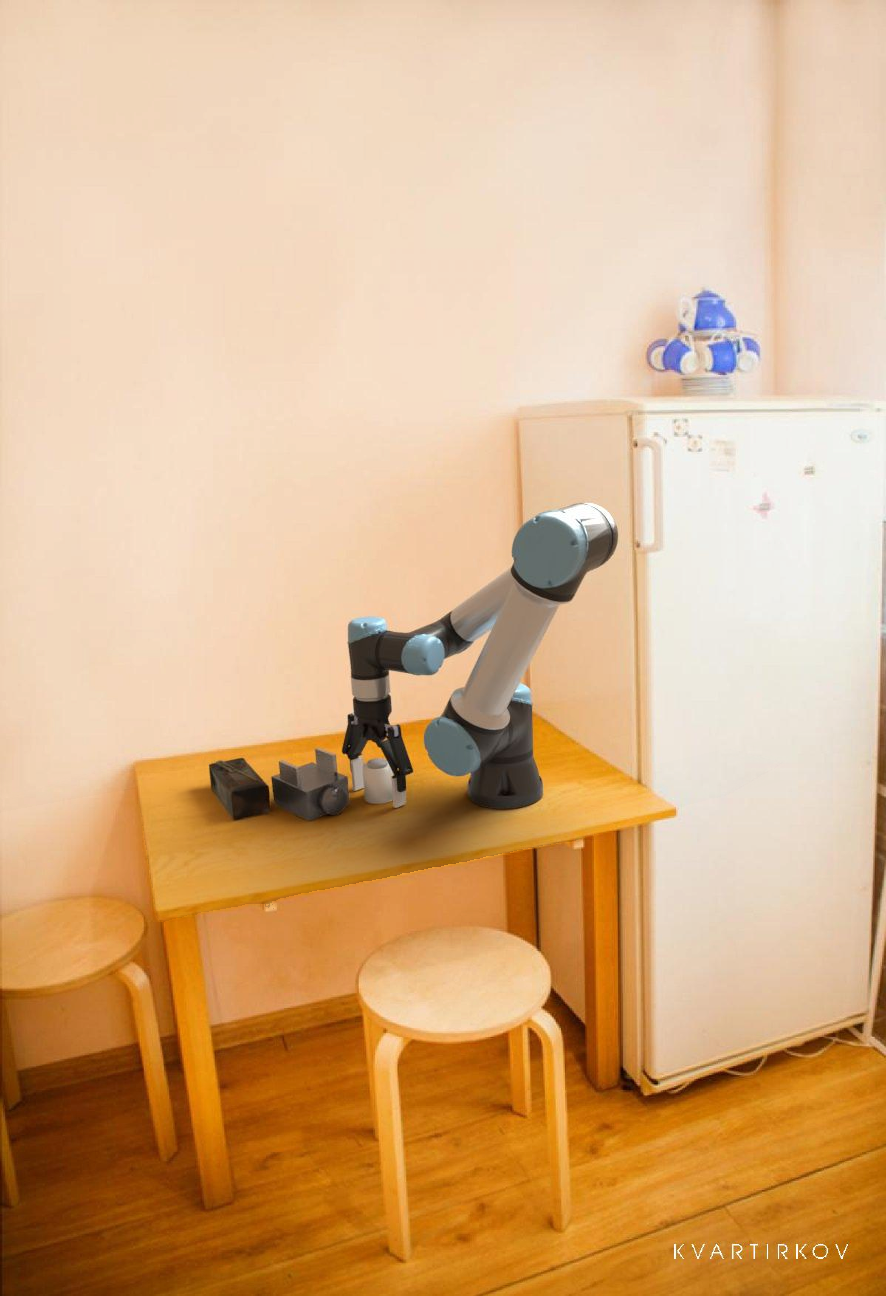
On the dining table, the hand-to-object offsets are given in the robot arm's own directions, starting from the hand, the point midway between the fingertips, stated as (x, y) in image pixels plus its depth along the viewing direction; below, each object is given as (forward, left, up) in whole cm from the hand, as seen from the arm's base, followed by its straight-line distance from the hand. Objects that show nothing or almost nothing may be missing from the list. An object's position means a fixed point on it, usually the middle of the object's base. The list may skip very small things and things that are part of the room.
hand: (379, 796), depth 199 cm
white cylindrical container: (0, 0, 0) cm, 0 cm away
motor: (+7, +11, 0) cm, 13 cm away
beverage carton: (+21, +19, -1) cm, 29 cm away
